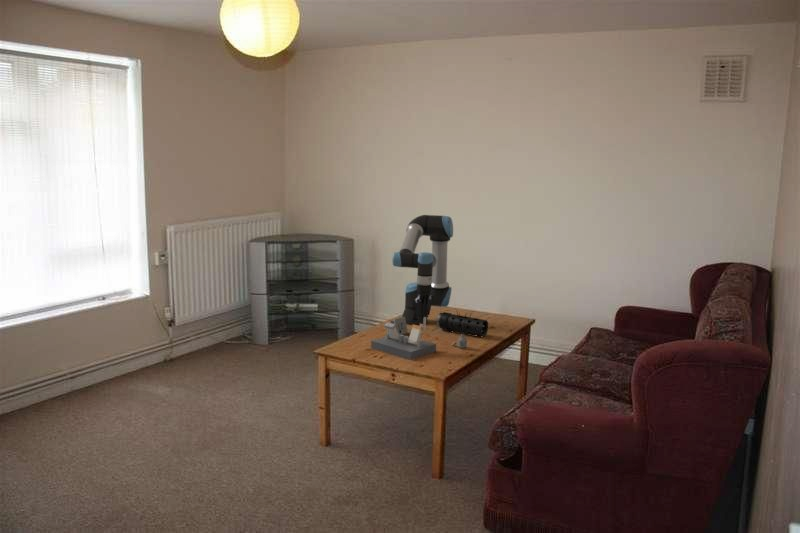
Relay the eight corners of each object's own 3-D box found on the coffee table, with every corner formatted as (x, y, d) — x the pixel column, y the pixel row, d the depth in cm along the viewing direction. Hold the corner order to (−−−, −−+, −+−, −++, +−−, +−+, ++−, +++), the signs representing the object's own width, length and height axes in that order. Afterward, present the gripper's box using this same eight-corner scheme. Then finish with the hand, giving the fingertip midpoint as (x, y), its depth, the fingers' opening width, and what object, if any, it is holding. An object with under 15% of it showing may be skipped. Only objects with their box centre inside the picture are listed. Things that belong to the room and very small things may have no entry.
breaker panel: (396, 340, 352) (397, 327, 351) (435, 351, 336) (436, 337, 335) (370, 348, 337) (371, 334, 336) (410, 360, 321) (411, 345, 320)
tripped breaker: (409, 343, 335) (415, 325, 336) (418, 345, 331) (424, 327, 333) (406, 342, 333) (412, 324, 335) (415, 344, 329) (421, 326, 331)
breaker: (392, 336, 343) (386, 322, 338) (401, 338, 339) (395, 324, 334) (389, 339, 341) (383, 325, 336) (398, 341, 337) (392, 327, 332)
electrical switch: (397, 336, 361) (396, 319, 360) (390, 335, 364) (389, 318, 363) (408, 333, 368) (407, 316, 367) (400, 332, 371) (400, 316, 370)
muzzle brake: (480, 340, 360) (481, 321, 359) (435, 331, 375) (436, 313, 373) (488, 336, 368) (489, 318, 366) (443, 327, 383) (444, 310, 381)
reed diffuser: (471, 348, 344) (474, 310, 340) (466, 351, 338) (468, 313, 334) (454, 344, 349) (456, 307, 345) (448, 347, 343) (450, 310, 340)
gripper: (422, 286, 325) (420, 333, 329) (438, 283, 335) (436, 328, 339) (410, 284, 330) (408, 330, 334) (426, 281, 340) (424, 325, 344)
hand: (422, 329), depth 336 cm, fingers closed
